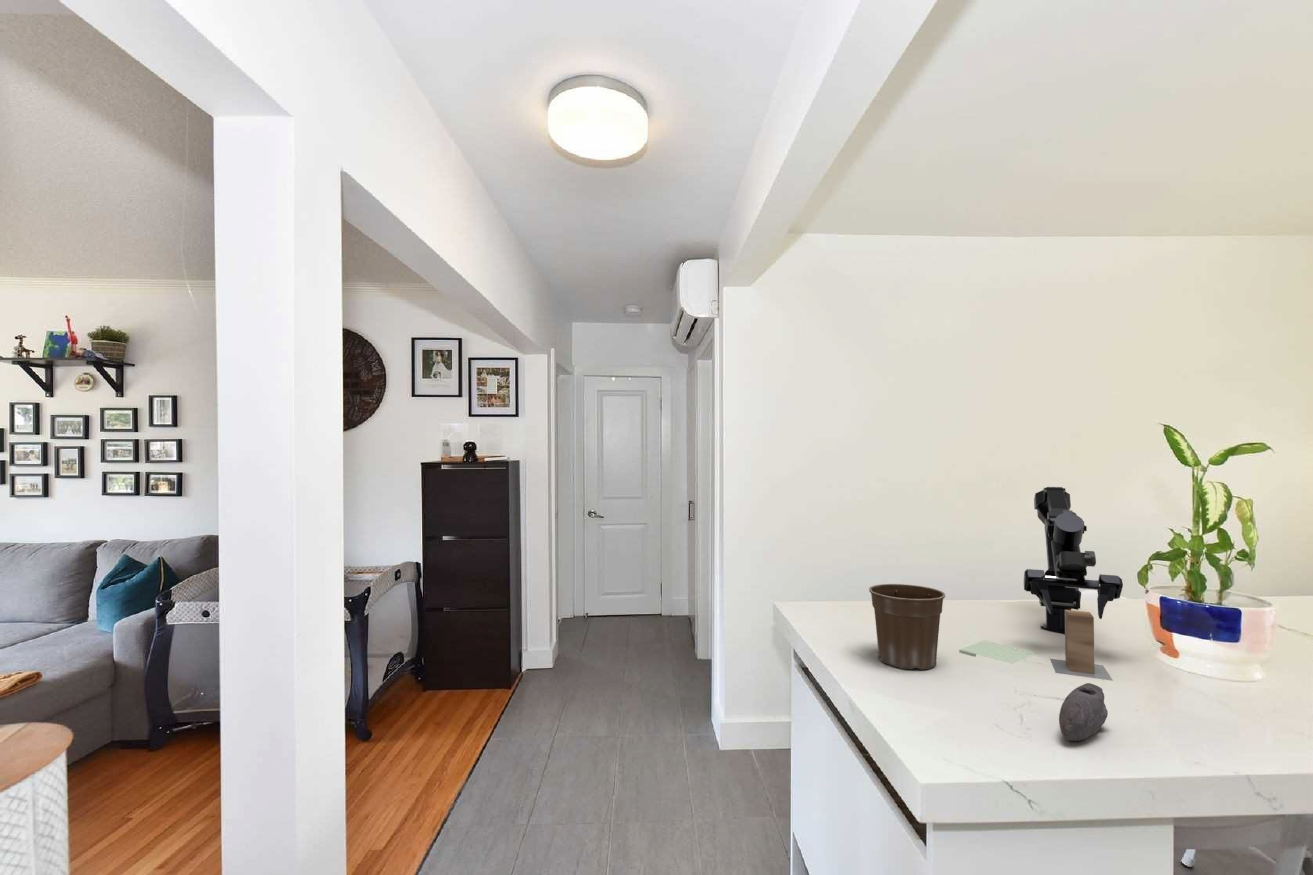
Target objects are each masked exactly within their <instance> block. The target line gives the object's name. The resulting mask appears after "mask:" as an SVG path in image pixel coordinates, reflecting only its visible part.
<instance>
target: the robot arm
mask: <svg viewBox="0 0 1313 875" xmlns="http://www.w3.org/2000/svg"><path fill="white" fill-rule="evenodd" d="M1066 490H1067V489H1066V487H1062V486H1046V487H1043V489H1042V490H1040V491H1037V492H1036V493H1034V498H1033V502H1034V503H1033V507H1034V510H1036V511H1037V518H1038V519H1039V520H1040V521H1041V522H1042V523H1043V525H1044V534H1045V545H1046V546H1045V547H1046V557H1047V558H1046V560H1047V569H1046V571H1045V570H1044V569H1033V568H1032V569H1031V568H1026V569H1025V570H1024V573H1023V589H1024V591H1025V592H1030V594H1031V595H1035V596H1036V597H1037V598H1038V600H1039V602H1038V603H1039V605H1040V607H1045V624H1043V625H1040V629H1042V630H1047V631H1052V632H1057V633H1061V634H1065V610H1075V611H1079V609H1080V610H1081V598H1082V592H1081V591H1080V589H1081V590H1082V589H1083V590H1095V591H1096V592H1097V600H1096V603H1097V615H1098V619H1099V620H1102V619H1103V614H1104V611H1105V607H1106V606H1107V604H1108V603H1109V602H1113V601H1114V600H1117V599H1120V598H1121V594H1122V591H1123V587H1124V584H1123V579H1122V578H1121V577H1120V576H1119V575H1115V574H1113V575H1111V574H1101V573H1100V574H1099V575H1098V580H1095V579H1086V576H1087V574H1088V573H1087V572H1088V571H1087V567H1093V568H1094V567H1096V565H1097V559H1096V553H1095V551H1093V550H1084V552H1081V547H1080V546H1081V543H1082V539H1083V535H1085V532H1087V531H1088V530H1087V529H1088V528H1087V526H1086V525H1085V521H1084V520H1083V518H1082V517H1080V516H1079V515H1078V514H1077V513H1076V512H1074V511H1073V509H1071V507H1072V504H1071V494H1070V493H1068V492H1067V491H1066Z"/></svg>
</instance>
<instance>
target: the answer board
mask: <svg viewBox="0 0 1313 875" xmlns="http://www.w3.org/2000/svg"><path fill="white" fill-rule="evenodd" d="M959 653H961V654H965V655H968V656H973V657H977V655H978V656H980V657H985V658H989V659H993V660H997V661H1000V662H1004V663H1008V664H1011V665H1014V664H1016V663H1018V662H1020V661H1023V660H1025V659H1027V658H1029V657H1031V656H1033V655H1037V653H1036V652H1033V651H1030V650H1026V649H1021V648H1016V647H1013V646H1009V645H1005V644H1001V643H996V642H993V641H988V640H986V639H984V640H982V641H978V642H976V643H973V644H971V645H968V646H966V647H963V648H959Z"/></svg>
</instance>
